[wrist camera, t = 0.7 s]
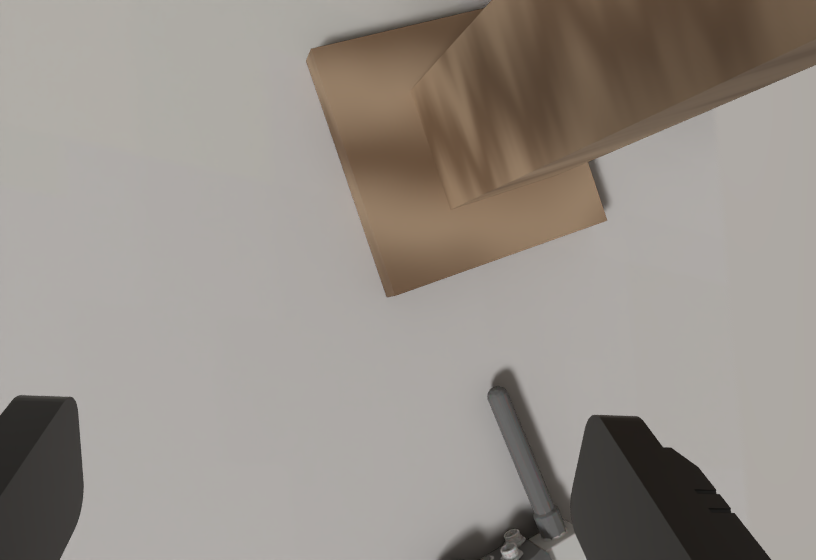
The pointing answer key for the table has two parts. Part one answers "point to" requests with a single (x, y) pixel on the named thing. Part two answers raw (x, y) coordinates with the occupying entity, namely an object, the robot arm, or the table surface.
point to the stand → (528, 113)
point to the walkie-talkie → (531, 497)
